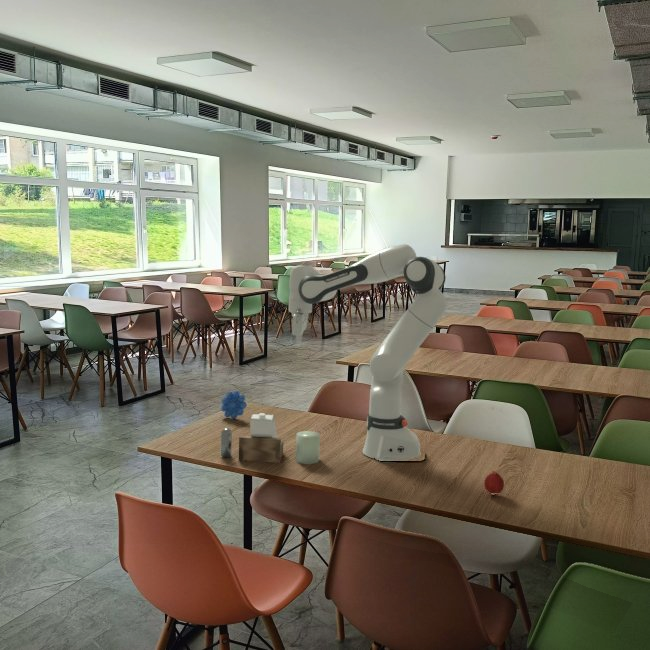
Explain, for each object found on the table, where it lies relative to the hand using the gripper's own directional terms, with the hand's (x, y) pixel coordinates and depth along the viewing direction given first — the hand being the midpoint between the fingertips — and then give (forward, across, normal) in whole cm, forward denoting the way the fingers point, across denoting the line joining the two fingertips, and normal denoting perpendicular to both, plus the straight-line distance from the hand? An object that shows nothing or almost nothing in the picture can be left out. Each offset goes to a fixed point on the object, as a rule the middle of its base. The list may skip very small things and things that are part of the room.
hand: (299, 343), depth 245 cm
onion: (+35, -50, -66) cm, 90 cm away
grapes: (+35, +14, +27) cm, 47 cm away
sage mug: (+35, -28, -7) cm, 45 cm away
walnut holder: (+35, -28, +9) cm, 46 cm away
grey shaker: (+35, -30, +21) cm, 51 cm away
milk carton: (+33, -20, +9) cm, 39 cm away
